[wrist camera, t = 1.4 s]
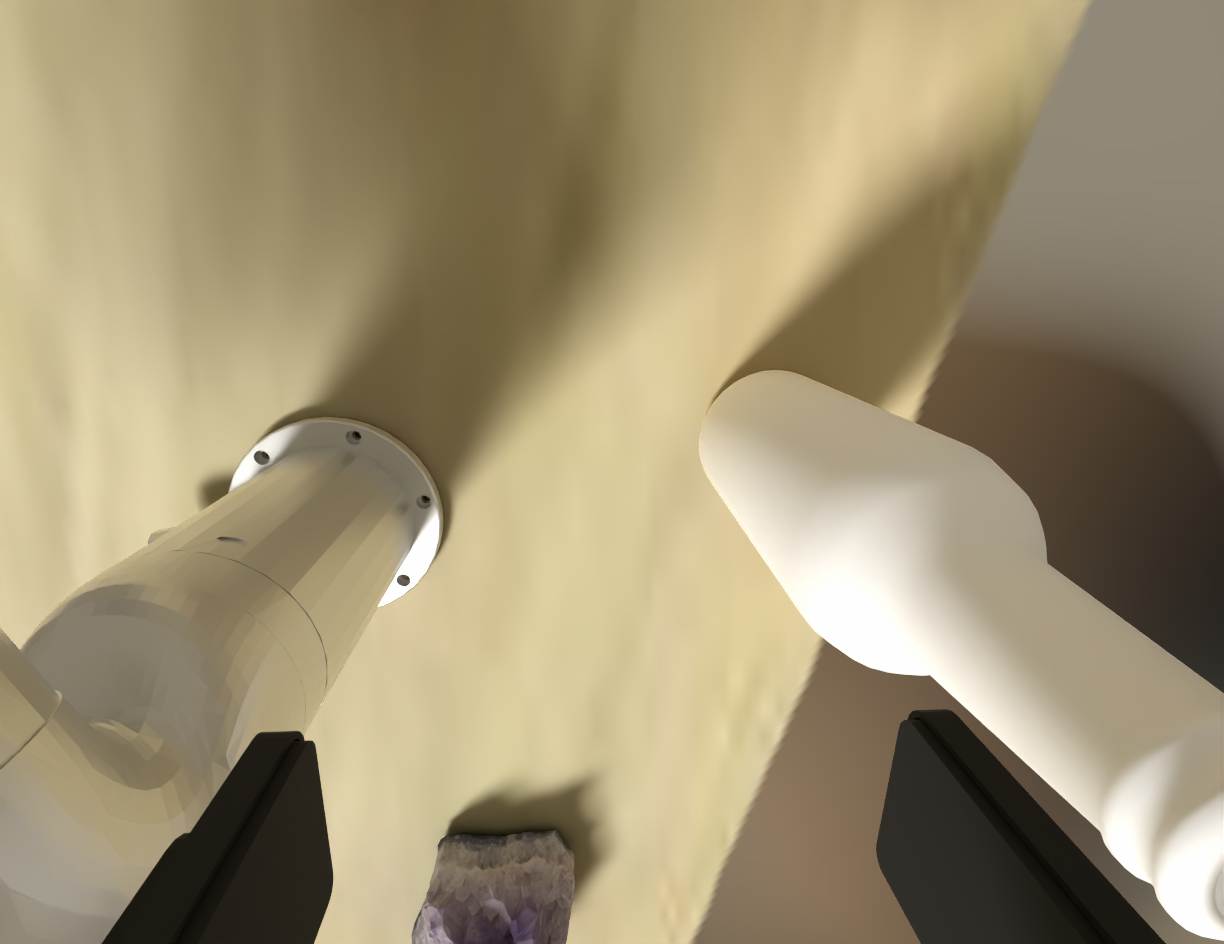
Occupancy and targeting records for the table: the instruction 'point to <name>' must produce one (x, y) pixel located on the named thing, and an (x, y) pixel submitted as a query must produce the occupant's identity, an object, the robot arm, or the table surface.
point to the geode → (499, 891)
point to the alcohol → (978, 616)
